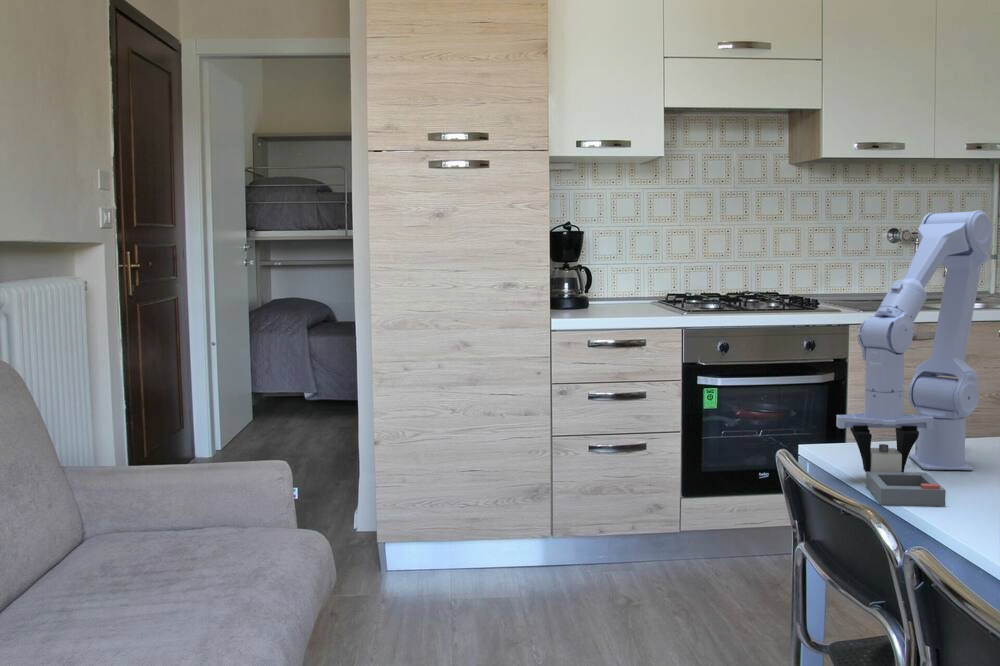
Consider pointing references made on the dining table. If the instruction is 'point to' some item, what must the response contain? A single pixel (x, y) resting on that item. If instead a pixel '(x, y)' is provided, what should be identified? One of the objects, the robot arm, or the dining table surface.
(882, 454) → the plug
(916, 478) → the socket plate
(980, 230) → the robot arm
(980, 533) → the dining table surface
